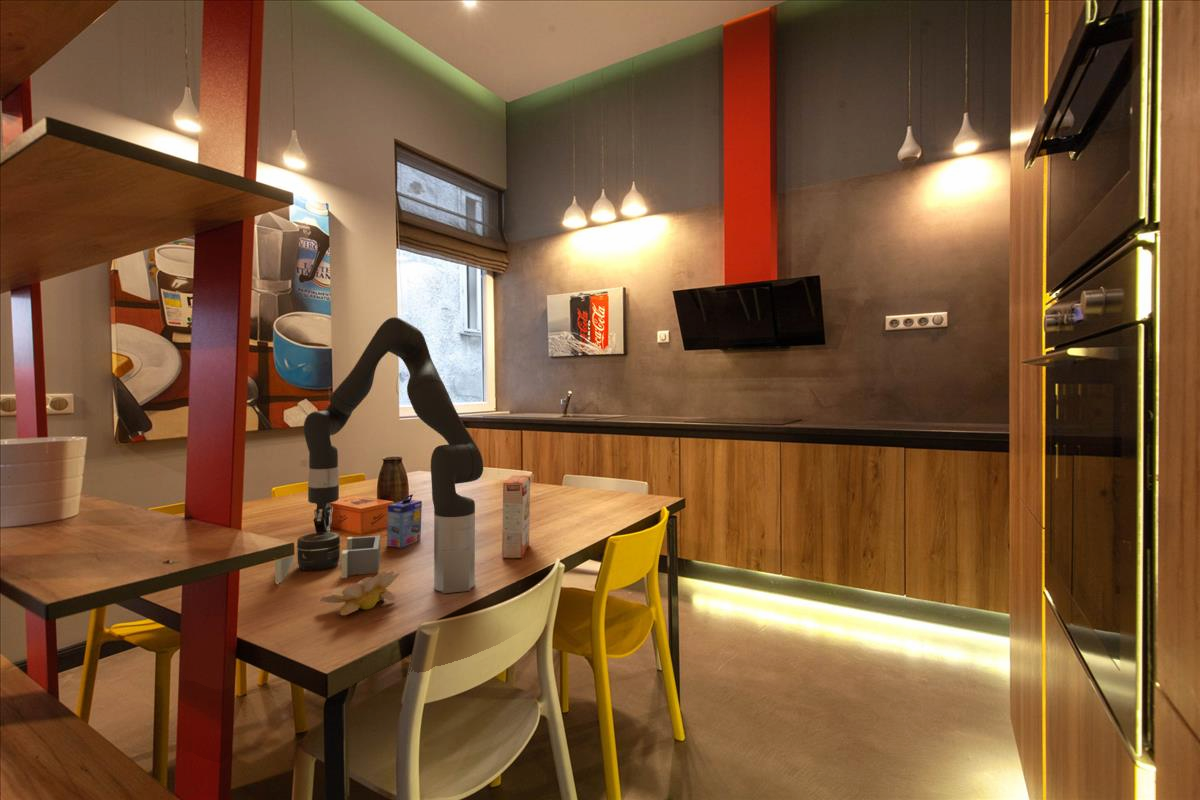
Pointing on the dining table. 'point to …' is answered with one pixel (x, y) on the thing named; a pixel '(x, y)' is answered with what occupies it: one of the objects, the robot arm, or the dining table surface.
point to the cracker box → (516, 516)
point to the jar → (318, 551)
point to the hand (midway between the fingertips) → (323, 547)
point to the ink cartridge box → (404, 522)
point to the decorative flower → (363, 593)
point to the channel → (346, 558)
